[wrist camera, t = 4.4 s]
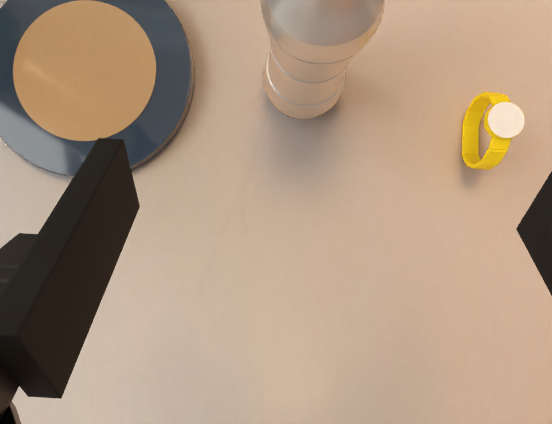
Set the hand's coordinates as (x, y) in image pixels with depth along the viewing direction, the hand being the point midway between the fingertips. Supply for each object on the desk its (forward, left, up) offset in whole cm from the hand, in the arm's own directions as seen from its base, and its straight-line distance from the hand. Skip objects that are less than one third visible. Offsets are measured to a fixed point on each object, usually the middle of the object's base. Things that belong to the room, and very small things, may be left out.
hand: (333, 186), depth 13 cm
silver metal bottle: (-8, +8, -23) cm, 26 cm away
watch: (+5, +16, -23) cm, 28 cm away
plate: (-21, -5, -23) cm, 31 cm away
